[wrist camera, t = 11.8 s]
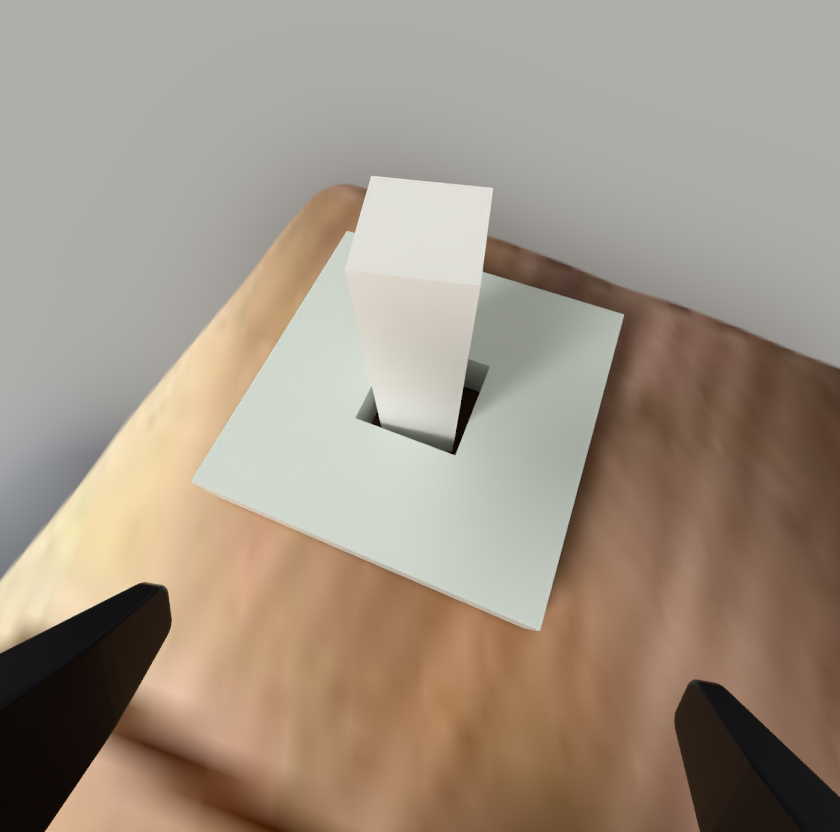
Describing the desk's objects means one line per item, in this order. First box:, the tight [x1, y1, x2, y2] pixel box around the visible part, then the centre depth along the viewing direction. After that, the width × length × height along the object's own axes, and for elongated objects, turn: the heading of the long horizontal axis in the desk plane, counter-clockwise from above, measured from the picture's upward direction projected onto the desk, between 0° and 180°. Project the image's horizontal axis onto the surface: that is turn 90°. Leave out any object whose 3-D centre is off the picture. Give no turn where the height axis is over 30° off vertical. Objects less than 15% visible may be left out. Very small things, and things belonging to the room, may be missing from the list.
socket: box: [191, 231, 624, 631], centre depth 23 cm, size 16×16×3 cm
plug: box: [345, 176, 493, 452], centre depth 18 cm, size 4×4×13 cm
